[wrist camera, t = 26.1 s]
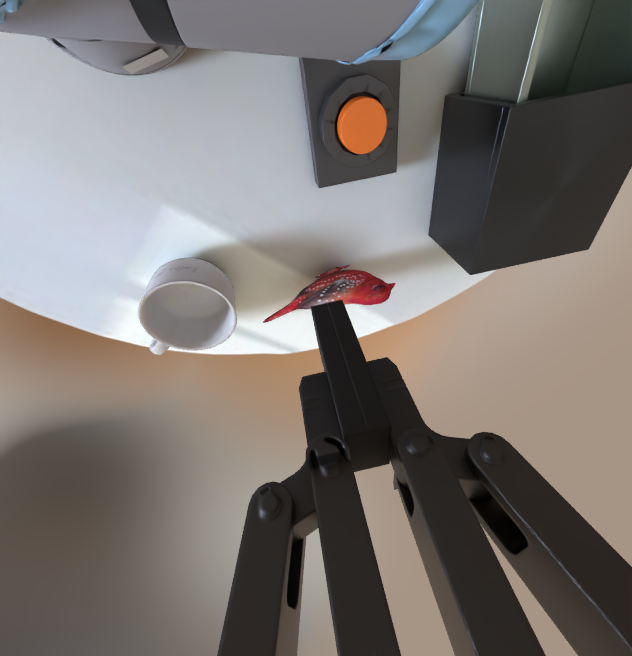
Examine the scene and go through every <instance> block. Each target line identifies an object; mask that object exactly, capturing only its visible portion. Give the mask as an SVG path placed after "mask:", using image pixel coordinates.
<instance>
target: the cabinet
mask: <svg viewBox="0 0 632 656" xmlns="http://www.w3.org/2000/svg"><path fill="white" fill-rule="evenodd" d="M464 94H465V92H461V93H456V94H451V95H446V96H445V102H444V110H443V119H442V127H441V136H440V144H439V152H438V161H437V169H436V177H435V186H434V194H433V202H432V211H431V219H430V228H429V236H430V237H431V238H432V239H433V240H434V241H435V242H436V243H437V244H438V245H439V246H440V247H441V248H442V249H444V250H445V251H446V252H447V253H448V254H449V255H450V256H451V257H452V258H453V259H454V260H455V261H456V262H457V263H458V264H459V265H460V266H461V267H462V268H463V269H464V270H465V271H466V272H467V273H468V274H469V275H473V274H478V273H482V272H487V271H491V270H496V269H501V268H505V267H510V266H514V265H519V264H524V263H528V262H532V261H537V260H542V259H546V258H551V257H556V256H560V255H565V254H569V253H574V252H579V251H583V250H588V249H589V248H590V246H591V244H592V242H593V240H594V238H595V236H596V234H597V232H598V230H599V228H600V226H601V225H602V223H603V221H604V219H605V217H606V215H607V213H608V211H609V209H610V207H611V205H612V203H613V201H614V200H615V198H616V196H617V194H618V192H619V190H620V188H621V186H622V184H623V182H624V180H625V179H626V177H627V175H628V173H629V171H630V169H631V167H632V80H629V81H624V82H619V83H614V84H609V85H605V86H600V87H595V88H590V89H585V90H580V91H575V92H570V93H565V94H560V95H555V96H550V97H545V98H540V99H535V100H530V101H525V102H521V103H516V104H512V103H506V102H499V101H493V100H487V99H480V98H474V97H468V96H464Z"/></svg>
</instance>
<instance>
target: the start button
mask: <svg viewBox="0 0 632 656" xmlns="http://www.w3.org/2000/svg"><path fill="white" fill-rule="evenodd" d="M386 128H387V116H386V112H385V110H384V108H383V106H382V105H381V104H380V103H379V102H378V101H377V100H375V99H373V98H370V97H366V96H358V97H355V98H352V99H351V100H349V101H348V102H347V103H346V104H345V105H344V107H343V108H342V110H341V111H340V114H339V117H338V121H337V132H338V136H339V139H340V141H341V142H342V144H343V145H344V146H345V147H346V148H348V149H349V150H350V151H351V152H353V153H356V154H366V153H369V152H371V151H373V150H374V149H375V148H376V147H377V146H378V145H379V144H380V143H381V141H382V140H383V138H384V135H385V132H386Z"/></svg>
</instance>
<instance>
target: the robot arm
mask: <svg viewBox="0 0 632 656" xmlns="http://www.w3.org/2000/svg"><path fill="white" fill-rule="evenodd" d="M478 1H479V0H0V31H1V32H9V33H17V34H25V35H33V36H41V37H45V38H46V39H47V40H49V41H50V42H51V43H53V44H54V45H55V46H57V47H58V48H60V49H61V50H63V51H64V52H66V53H67V54H69V55H71V56H72V57H74V58H76V59H78V60H80V61H82V62H84V63H86V64H88V65H90V66H93V67H95V68H98V69H101V70H104V71H107V72H111V73H115V74H121V75H143V74H150V73H154V72H157V71H160V70H162V69H165V68H166V67H168V66H170V65H171V64H173V63H174V62H175V61H177V60H178V59H179V58H180V57H181V56H182V55H183V54H184V53H185V51H186V50H187V49H188V47H191V48H203V49H214V50H225V51H236V52H248V53H259V54H270V55H281V56H293V57H304V58H315V59H327V60H336V61H338V62H340V63H343V64H347V65H350V64H351V63H353V64H360V63H364V62H367V61H369V60H405V59H409V58H412V57H415V56H418V55H420V54H422V53H424V52H426V51H427V50H429V49H431V48H432V47H434V46H435V45H437V44H438V43H439V42H440V41H442V40H443V39H444V38H445V37H446V36H447V35H448V34H449V33H451V32H452V31H453V30H454V29H455V28H456V27H457V26H458V25H459V23H460V22H461V21H462V20H463V19H464V18H465V17H466V16H467V14H468V13H469V12H470V11H471V9H472V8H473V7H474V6H475V4H476V3H477V2H478ZM311 311H312V316H313V321H314V326H315V331H316V336H317V341H318V346H319V350H320V354H321V359H322V363H323V367H324V371H325V372H322V373H317V374H313V375H309V376H304V377H302V380H301V383H300V386H299V392H300V399H301V405H302V411H303V418H304V424H305V431H306V438H307V445H308V447H307V449H306V461H305V463H304V465H303V466H302V467H301V469H300V470H298V471H297V472H296V473H295V474H293V475H292V476H290V477H288V478H287V479H285V480H284V481H282V482H281V483H277V482H270V483H265V484H264V485H262V486H261V487H259V488H258V489H257V490H256V491H255V493H254V494H253V495H252V498H251V500H250V503H249V506H248V511H247V516H246V520H245V525H244V530H243V535H242V540H241V544H240V549H239V554H238V559H237V564H236V569H235V574H234V578H233V583H232V588H231V592H230V597H229V602H228V607H227V611H226V616H225V621H224V626H223V631H222V635H221V640H220V645H219V650H218V655H217V656H297V646H298V634H299V622H300V621H299V620H300V609H301V596H302V583H303V570H304V557H305V545H306V536H307V535H309V534H310V533H312V532H313V531H314V530H316V529H317V528H319V534H320V540H321V547H322V554H323V561H324V567H325V574H326V580H327V587H328V593H329V600H330V607H331V613H332V620H333V626H334V633H335V640H336V647H337V653H338V656H401V654H400V650H399V646H398V642H397V638H396V634H395V630H394V627H393V623H392V619H391V615H390V611H389V607H388V603H387V599H386V595H385V591H384V588H383V584H382V580H381V576H380V572H379V569H378V564H377V560H376V557H375V553H374V549H373V545H372V541H371V537H370V533H369V529H368V526H367V522H366V518H365V514H364V510H363V506H362V503H361V499H360V494H359V491H358V487H357V483H356V479H355V475H354V472H356V471H360V470H365V469H369V468H373V467H378V466H382V465H386V464H389V462H390V461H391V464H392V466H393V469H394V481H393V484H394V490H395V489H398V491H399V494H400V497H401V500H402V503H403V506H404V509H405V512H406V515H407V517H408V520H409V523H410V526H411V529H412V532H413V535H414V538H415V541H416V544H417V546H418V549H419V552H420V555H421V558H422V561H423V564H424V567H425V570H426V573H427V575H428V578H429V581H430V584H431V587H432V590H433V593H434V596H435V599H436V602H437V604H438V607H439V610H440V613H441V616H442V619H443V622H444V624H445V628H446V631H447V633H448V636H449V639H450V642H451V645H452V648H453V651H454V654H455V656H546V655H545V653H544V651H543V649H542V648H541V646H540V643H539V641H538V640H537V637H536V635H535V633H534V631H533V629H532V628H531V625H530V623H529V621H528V619H527V617H526V615H525V613H524V611H523V609H522V607H521V605H520V603H519V601H518V599H517V597H516V595H515V593H514V591H513V589H512V587H511V585H510V583H509V581H508V579H507V577H506V575H505V573H504V571H503V569H502V567H501V565H500V563H499V561H498V559H497V557H496V555H495V553H494V551H493V549H492V547H491V545H490V543H489V541H488V539H487V537H486V535H485V533H484V531H483V529H482V527H483V528H484V529H485V531H486V532H487V533H488V535H489V536H490V537H491V539H492V540H493V542H494V543H495V544H496V545H497V547H498V548H499V550H500V551H501V552H502V554H503V555H504V556H505V558H506V559H507V560H508V562H509V563H510V564H511V566H512V567H513V568H514V570H515V571H516V572H517V574H518V575H519V577H520V578H521V579H522V581H523V582H524V583H525V585H526V586H527V587H528V589H529V590H530V591H531V593H532V594H533V595H534V597H535V598H536V599H537V601H538V602H539V603H540V605H541V606H542V607H543V609H544V610H545V612H546V613H547V614H548V616H549V617H550V618H551V619H552V621H553V622H554V624H555V625H556V626H557V628H558V629H559V630H560V632H561V633H562V634H563V636H564V637H565V639H566V640H567V641H568V643H569V644H570V645H571V646H572V648H573V649H574V651H575V652H576V653H577V655H578V656H632V567H631V566H630V565H629V564H628V563H627V562H626V561H625V560H624V559H623V558H622V557H621V556H620V555H619V554H618V553H617V552H616V551H615V550H614V549H613V548H612V547H611V546H610V545H609V544H608V543H607V542H606V541H605V540H604V538H603V537H602V536H601V535H600V534H599V533H598V532H597V531H595V529H594V528H593V527H592V526H591V525H590V524H589V523H588V522H587V521H586V520H585V519H584V518H583V517H582V516H581V515H580V514H579V513H578V512H577V511H576V510H575V509H574V508H573V507H572V506H571V505H570V504H569V503H568V502H567V501H566V500H565V499H564V498H563V497H562V496H561V495H560V494H559V493H558V492H557V491H556V490H555V489H554V488H553V487H552V486H551V485H550V484H549V483H548V482H547V481H546V480H545V479H544V478H543V477H542V476H541V475H540V474H539V473H538V472H537V471H536V470H535V469H534V468H533V467H532V466H531V465H530V464H529V463H528V462H527V461H526V460H525V459H524V458H523V456H522V455H520V453H518V451H517V450H516V449H515V448H514V447H513V446H512V445H511V444H510V443H509V442H507V441H506V440H505V439H503V438H502V437H501V436H498V435H496V434H493V433H488V432H481V433H477V434H475V435H474V436H473V437H471V439H465V438H454V437H446V436H442V435H440V434H438V433H436V432H434V431H432V430H431V429H430V428H429V427H428V426H427V425H426V424H425V423H424V421H423V419H422V418H421V416H420V413H419V411H418V409H417V407H416V405H415V403H414V401H413V399H412V397H411V395H410V393H409V391H408V388H407V387H406V384H405V382H404V380H403V379H402V376H401V374H400V372H399V370H398V368H397V366H396V365H395V364H394V363H393V362H392V361H391V360H389V359H388V358H387V357H386V358H382V359H377V360H372V361H368V362H366V359H365V357H364V354H363V352H362V349H361V347H360V344H359V342H358V339H357V336H356V334H355V331H354V329H353V326H352V323H351V321H350V318H349V316H348V313H347V311H346V308H345V306H344V303H343V300H338V301H333V302H328V303H324V304H319V305H315V306H311ZM480 524H481V525H482V527H481V525H480Z"/></svg>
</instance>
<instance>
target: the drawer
mask: <svg viewBox="0 0 632 656" xmlns="http://www.w3.org/2000/svg"><path fill="white" fill-rule="evenodd" d="M629 80H632V0H479V3H478V10H477V16H476V23H475V29H474V36H473V42H472V49H471V55H470V62H469V68H468V75H467V81H466V88H465V94H464V96H468V97H474V98H480V99H487V100H493V101H499V102H506V103H512V104H516V103H521V102H525V101H530V100H535V99H540V98H545V97H550V96H555V95H560V94H565V93H570V92H575V91H580V90H585V89H590V88H595V87H600V86H605V85H609V84H614V83H619V82H624V81H629Z"/></svg>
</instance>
